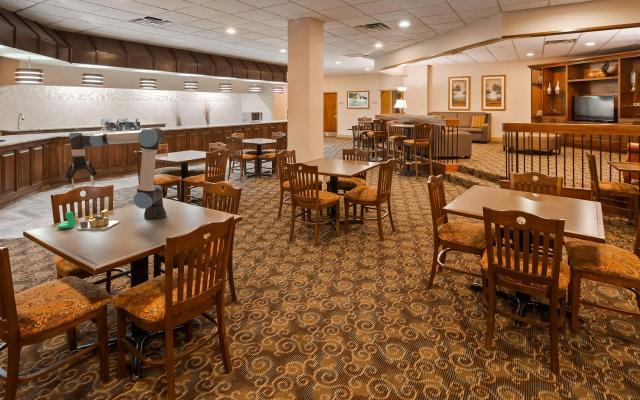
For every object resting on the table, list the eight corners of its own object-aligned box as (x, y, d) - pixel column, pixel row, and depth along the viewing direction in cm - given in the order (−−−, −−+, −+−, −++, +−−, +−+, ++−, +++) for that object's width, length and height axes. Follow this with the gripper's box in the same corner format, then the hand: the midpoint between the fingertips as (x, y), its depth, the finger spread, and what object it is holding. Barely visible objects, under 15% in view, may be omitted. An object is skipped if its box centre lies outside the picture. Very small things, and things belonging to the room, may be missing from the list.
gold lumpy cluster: (102, 226, 261) (101, 216, 260) (86, 226, 262) (85, 215, 260) (115, 219, 277) (114, 210, 275) (100, 219, 277) (98, 209, 276)
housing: (119, 222, 276) (118, 212, 274) (105, 230, 258) (103, 219, 257) (92, 222, 276) (91, 212, 275) (76, 229, 259) (74, 219, 257)
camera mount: (63, 225, 269) (61, 210, 267) (76, 224, 271) (74, 209, 269) (57, 230, 258) (55, 214, 256) (71, 229, 260) (68, 214, 258)
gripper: (93, 153, 280) (97, 183, 284) (55, 157, 259) (60, 189, 263) (100, 153, 276) (104, 184, 281) (62, 157, 255) (67, 190, 260)
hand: (83, 186), depth 272 cm, fingers open, 13 cm apart
